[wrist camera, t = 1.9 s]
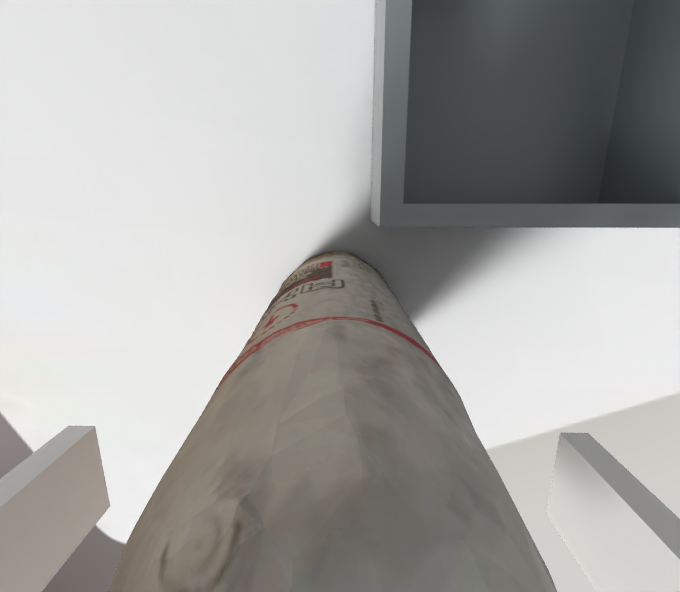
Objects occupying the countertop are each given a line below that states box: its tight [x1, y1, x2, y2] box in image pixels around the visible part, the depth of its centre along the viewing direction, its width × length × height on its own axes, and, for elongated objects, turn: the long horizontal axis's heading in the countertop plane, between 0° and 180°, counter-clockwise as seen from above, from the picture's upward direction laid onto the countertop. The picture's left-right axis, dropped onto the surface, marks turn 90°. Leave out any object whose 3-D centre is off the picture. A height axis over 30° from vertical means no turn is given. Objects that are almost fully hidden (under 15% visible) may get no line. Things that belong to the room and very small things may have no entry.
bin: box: [371, 0, 680, 228], centre depth 17 cm, size 14×14×6 cm
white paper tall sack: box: [108, 252, 557, 592], centre depth 14 cm, size 8×8×20 cm
